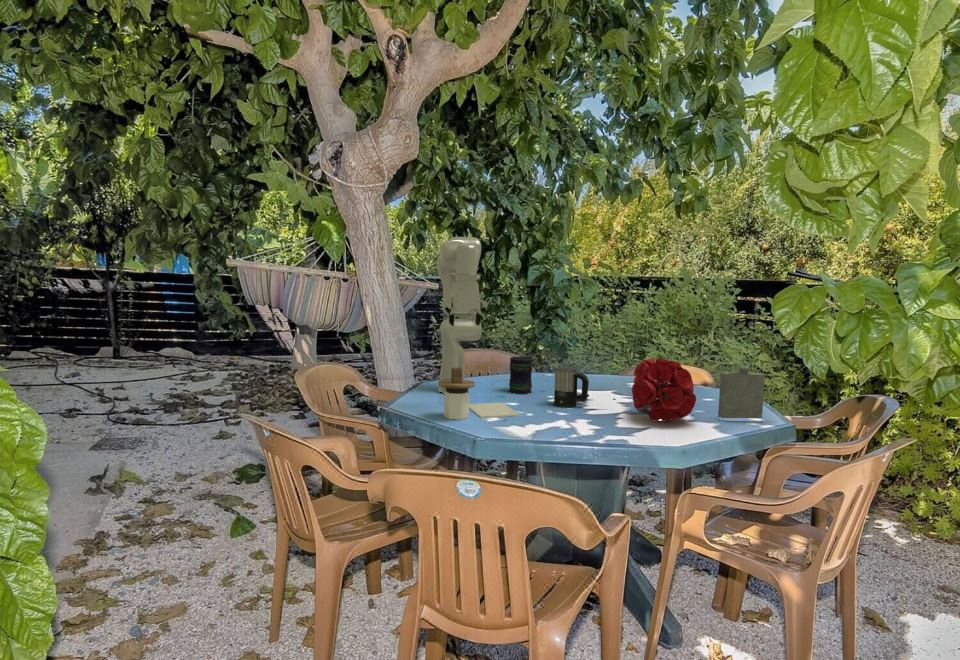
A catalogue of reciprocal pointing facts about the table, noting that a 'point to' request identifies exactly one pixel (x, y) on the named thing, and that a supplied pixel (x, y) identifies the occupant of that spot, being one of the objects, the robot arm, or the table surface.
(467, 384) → the lid
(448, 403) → the jar
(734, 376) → the hip flask
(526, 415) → the table surface
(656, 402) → the bouquet
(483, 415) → the placemat
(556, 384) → the milk frother
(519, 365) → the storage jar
